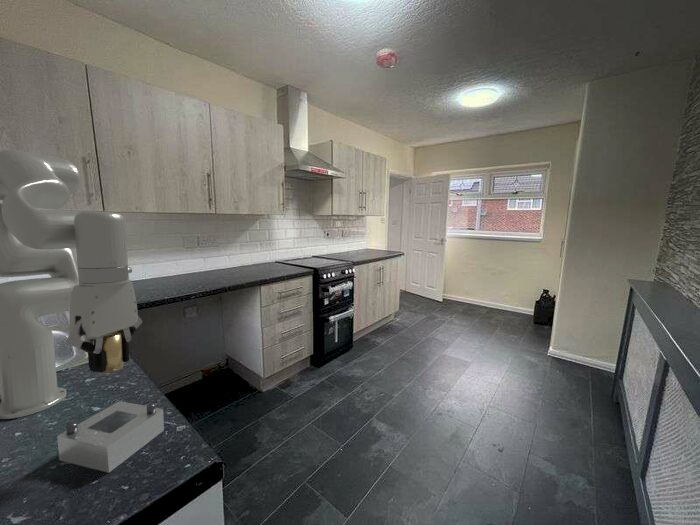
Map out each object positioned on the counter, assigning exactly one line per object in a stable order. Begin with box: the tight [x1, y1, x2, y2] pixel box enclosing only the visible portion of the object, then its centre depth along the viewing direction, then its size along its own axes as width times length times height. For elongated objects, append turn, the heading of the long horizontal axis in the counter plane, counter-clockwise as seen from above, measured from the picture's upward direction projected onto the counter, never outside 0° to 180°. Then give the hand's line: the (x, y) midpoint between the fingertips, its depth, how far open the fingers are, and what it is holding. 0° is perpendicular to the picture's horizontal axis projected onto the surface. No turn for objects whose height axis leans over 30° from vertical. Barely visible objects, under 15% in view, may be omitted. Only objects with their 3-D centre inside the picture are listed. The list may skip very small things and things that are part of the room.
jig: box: [56, 400, 165, 474], centre depth 60 cm, size 12×12×7 cm
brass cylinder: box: [97, 332, 124, 375], centre depth 59 cm, size 4×4×7 cm
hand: (110, 365), depth 59 cm, fingers closed on brass cylinder, 4 cm apart
